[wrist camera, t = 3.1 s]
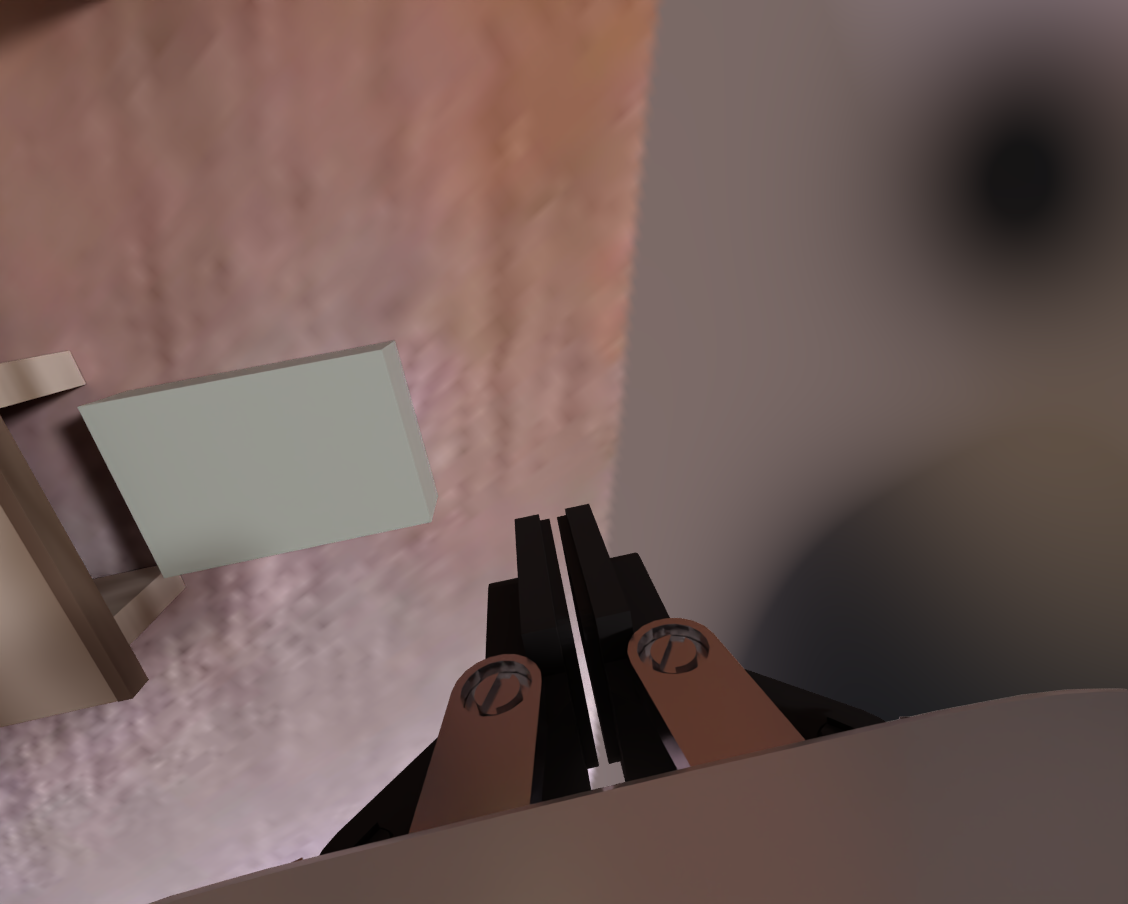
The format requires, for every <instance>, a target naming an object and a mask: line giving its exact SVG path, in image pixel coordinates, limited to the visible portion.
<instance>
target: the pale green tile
mask: <svg viewBox="0 0 1128 904" xmlns="http://www.w3.org/2000/svg"><path fill="white" fill-rule="evenodd" d="M78 409H79V411H80V413H81V415H82V417H83V419H84V421H85V423H86V425H87V427H88V429H89V431H90V433H91V435H92V437H93V439H94V441H95V443H96V445H97V447H98V449H99V451H100V453H101V455H102V457H103V459H104V461H105V463H106V464H107V466H108V468H109V470H110V472H111V474H112V476H113V478H114V480H115V482H116V484H117V486H118V488H119V490H120V492H121V494H122V496H123V498H124V500H125V502H126V504H127V506H128V508H129V510H130V512H131V514H132V516H133V518H134V520H135V522H136V524H137V526H138V528H139V530H140V532H141V534H142V536H143V538H144V540H145V542H146V543H147V545H148V547H149V549H150V551H151V553H152V555H153V557H154V559H155V561H156V563H157V565H158V567H159V569H160V571H161V573H162V575H163V577H164V578H168V577H173V576H177V575H182V574H187V573H192V572H196V571H201V570H206V569H211V568H215V567H220V566H225V565H230V564H234V563H239V562H244V561H249V560H253V559H258V558H263V557H268V556H272V555H277V554H282V553H287V552H291V551H296V550H301V549H306V548H310V547H315V546H320V545H325V544H329V543H334V542H339V541H344V540H348V539H353V538H358V537H363V536H367V535H372V534H377V533H382V532H386V531H391V530H396V529H401V528H405V527H410V526H415V525H420V524H424V523H429V522H432V518H433V514H434V510H435V506H436V502H437V498H438V494H437V490H436V487H435V483H434V480H433V476H432V472H431V469H430V465H429V462H428V458H427V455H426V451H425V447H424V444H423V440H422V437H421V433H420V429H419V426H418V422H417V419H416V415H415V412H414V408H413V404H412V401H411V397H410V394H409V390H408V386H407V383H406V379H405V376H404V372H403V368H402V365H401V361H400V358H399V354H398V351H397V347H396V343H395V340H394V341H389V342H384V343H378V344H373V345H368V346H362V347H357V348H352V349H347V350H341V351H336V352H331V353H325V354H320V355H315V356H309V357H304V358H299V359H293V360H288V361H283V362H277V363H272V364H267V365H262V366H256V367H251V368H246V369H240V370H235V371H230V372H224V373H219V374H214V375H208V376H203V377H198V378H193V379H187V380H182V381H177V382H171V383H166V384H161V385H155V386H150V387H145V388H139V389H134V390H129V391H125V392H122V393H119V394H116V395H113V396H110V397H107V398H104V399H100V400H97V401H94V402H91V403H88V404H85V405H82V406H79V407H78Z"/></svg>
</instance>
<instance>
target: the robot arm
mask: <svg viewBox="0 0 1128 904" xmlns="http://www.w3.org/2000/svg"><path fill="white" fill-rule="evenodd" d="M565 512H566V515H564V516H560V517H557V520H558V525H559V530H560V535H561V540H562V545H563V550H564V555H565V561H566V566H567V571H568V576H569V581H570V586H571V591H572V596H573V601H574V606H575V612H576V617H577V622H578V626H579V631H580V636H581V640H582V645H583V649H584V654H585V658H586V663H587V668H588V672H589V677H590V681H591V686H592V690H593V695H594V699H595V704H596V708H597V713H598V717H599V722H600V726H601V731H602V735H603V740H604V745H605V749H606V753H607V758H608V762H609V764H611V763H614V762H619V761H620V762H621V766H622V770H623V774H624V778H625V782H624V783H619V784H616V785H611V786H607V787H603V788H598V789H594V790H591V787H590V781H589V775H588V769H589V768H593V767H598V766H599V763H598V758H597V753H596V748H595V743H594V738H593V733H592V728H591V723H590V718H589V713H588V708H587V703H586V698H585V693H584V688H583V683H582V678H581V673H580V668H579V663H578V658H577V653H576V648H575V643H574V638H573V633H572V628H571V623H570V618H569V614H568V609H567V604H566V599H565V594H564V589H563V584H562V579H561V574H560V569H559V564H558V559H557V554H556V549H555V544H554V539H553V534H552V529H551V524H550V519H545V520H540V518H539V514H538V515H533V516H528V517H523V518H518V519H515V535H516V552H517V570H518V578H514V579H510V580H505V581H500V582H495V583H491V584H489V587H488V608H487V633H486V658H485V660H482V661H480V662H478V663H476V664H475V665H473V666H472V667H471V668H469V669H468V670H466V671H465V672H464V674H463V675H462V676H461V677H460V678H459V679H458V680H457V682H456V684H455V686H454V688H453V690H452V692H451V696H450V699H449V702H448V705H447V709H446V712H445V715H444V719H443V722H442V725H441V728H440V732H439V735H438V737H437V738H436V739H435V740H434V741H433V742H432V743H431V744H430V745H429V746H428V747H427V748H426V749H425V750H424V751H423V752H422V753H421V754H420V755H419V756H418V757H417V758H415V759H414V760H413V761H412V762H411V763H410V764H409V765H408V766H407V767H406V768H405V769H404V770H403V771H402V772H401V773H400V774H399V775H398V776H397V777H396V778H394V779H393V780H392V781H391V782H390V783H389V784H388V785H387V786H386V787H385V788H384V789H383V790H382V791H381V792H380V793H379V794H378V795H377V796H376V797H375V798H373V799H372V800H371V801H370V802H369V803H368V804H367V805H366V806H365V807H364V808H363V809H362V810H361V811H360V812H359V813H358V814H357V815H356V816H355V817H354V818H353V819H351V820H350V821H349V822H348V823H347V824H346V825H345V826H344V827H343V828H342V829H341V830H340V831H339V832H338V833H337V834H336V835H335V836H334V837H333V838H332V840H331V841H330V842H329V843H328V844H327V845H326V846H325V848H324V849H323V850H322V852H321V853H320V855H319V856H316V857H312V858H308V859H304V860H303V858H300V859H298V860H296V861H294V862H291V863H288V864H284V865H280V866H276V867H272V868H268V869H264V870H261V871H257V872H254V873H250V874H247V875H243V876H239V877H236V878H232V879H229V880H225V881H222V882H218V883H215V884H211V885H208V886H204V887H201V888H197V889H193V890H190V891H186V892H183V893H179V894H176V895H172V896H169V897H166V898H163V899H160V900H158V901H155V902H152V903H149V904H1128V689H1069V690H1060V691H1050V692H1041V693H1032V694H1023V695H1018V696H1013V697H1007V698H1002V699H997V700H991V701H986V702H981V703H975V704H970V705H965V706H959V707H954V708H948V709H944V710H938V711H933V712H929V713H925V714H920V715H916V716H911V717H899V719H898V720H894V721H889V722H885V721H884V720H882V719H881V718H879V717H877V716H874V715H872V714H870V713H868V712H866V711H864V710H861V709H858V708H855V707H852V706H849V705H847V704H844V703H841V702H838V701H835V700H832V699H829V698H826V697H824V696H820V695H818V694H815V693H812V692H809V691H806V690H804V689H800V688H798V687H795V686H792V685H789V684H786V683H783V682H781V681H777V680H775V679H772V678H769V677H766V676H763V675H760V674H758V673H755V672H752V671H748V670H746V669H744V668H743V667H742V666H741V665H740V664H739V663H738V661H737V660H736V659H735V658H734V657H733V656H732V654H731V653H730V652H729V651H728V650H727V649H726V647H725V646H724V645H723V644H722V643H721V642H720V641H719V639H717V637H716V636H715V635H714V633H712V632H711V631H710V630H709V629H707V628H706V627H705V626H704V625H701V624H699V623H697V622H694V621H691V620H687V619H682V618H670V617H669V615H668V613H667V611H666V609H665V607H664V605H663V603H662V601H661V599H660V597H659V595H658V593H657V591H656V589H655V587H654V585H653V583H652V581H651V579H650V577H649V575H648V573H647V570H646V568H645V566H644V564H643V562H642V560H641V558H640V556H639V555H638V553H632V554H627V555H623V556H618V557H613V558H610V557H609V554H608V552H607V549H606V547H605V544H604V541H603V539H602V536H601V534H600V531H599V528H598V526H597V523H596V521H595V518H594V515H593V513H592V510H591V508H590V505H589V504H586V505H581V506H576V507H571V508H567V509H565Z"/></svg>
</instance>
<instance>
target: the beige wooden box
mask: <svg viewBox="0 0 1128 904" xmlns="http://www.w3.org/2000/svg"><path fill="white" fill-rule="evenodd" d="M85 384H86V383H85V381H84V379H83V377H82V375H81V373H80V371H79V369H78V367H77V365H76V363H75V361H74V359H73V357H72V355H71V353H70V351H65V352H59V353H54V354H48V355H43V356H37V357H32V358H27V359H21V360H16V361H10V362H5V363H0V408H2V407H6V406H10V405H13V404H17V403H20V402H24V401H28V400H31V399H35V398H38V397H42V396H46V395H49V394H53V393H56V392H60V391H64V390H67V389H71V388H74V387H78V386H82V385H85ZM185 588H186V586H185V584H184V582H183V580H182V578H181V576H180V575H177V576H173V577H168V578H164V577H163V575H162V573H161V571H160V569H159V567H158V566H153V567H148V568H143V569H139V570H134V571H129V572H124V573H119V574H115V575H110V576H105V577H100V578H96V579H92V578H91V576H90V574H89V572H88V571H87V569H86V567H85V565H84V563H83V562H82V560H81V558H80V556H79V555H78V553H77V551H76V549H75V547H74V546H73V544H72V542H71V540H70V539H69V537H68V535H67V533H66V531H65V530H64V528H63V526H62V524H61V523H60V521H59V519H58V517H57V515H56V514H55V512H54V510H53V508H52V506H51V505H50V503H49V501H48V499H47V498H46V496H45V494H44V492H43V490H42V489H41V487H40V485H39V483H38V482H37V480H36V478H35V476H34V474H33V473H32V471H31V469H30V467H29V466H28V464H27V462H26V460H25V458H24V457H23V455H22V453H21V451H20V450H19V448H18V446H17V444H16V442H15V441H14V439H13V437H12V435H11V433H10V432H9V430H8V428H7V426H6V425H5V423H4V421H3V419H2V417H1V416H0V727H4V726H9V725H13V724H17V723H22V722H26V721H31V720H35V719H40V718H44V717H49V716H53V715H58V714H62V713H67V712H71V711H76V710H80V709H85V708H89V707H94V706H98V705H102V704H107V703H111V702H116V701H118V702H119V701H124V700H128V699H133V698H134V696H135V695H136V694H137V693H138V692H139V690H140V689H141V688H142V687H143V686H144V685H145V683H146V682H147V681H148V680H149V679H148V677H147V676H146V674H145V672H144V670H143V669H142V667H141V665H140V663H139V661H138V660H137V658H136V656H135V654H134V652H133V651H132V649H131V647H130V644H131V643H132V642H133V641H134V640H135V639H136V638H137V637H138V636H139V635H140V634H141V633H142V632H143V631H144V630H145V629H146V628H147V627H148V626H149V625H150V624H151V623H152V622H153V621H154V620H155V619H156V618H157V617H158V616H159V614H160V613H161V612H162V611H163V610H164V609H165V608H166V607H167V606H168V605H169V604H170V603H171V602H172V601H173V600H174V599H175V598H176V597H177V596H178V595H179V594H180V593H181V592H182V591H183V590H184V589H185Z"/></svg>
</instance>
